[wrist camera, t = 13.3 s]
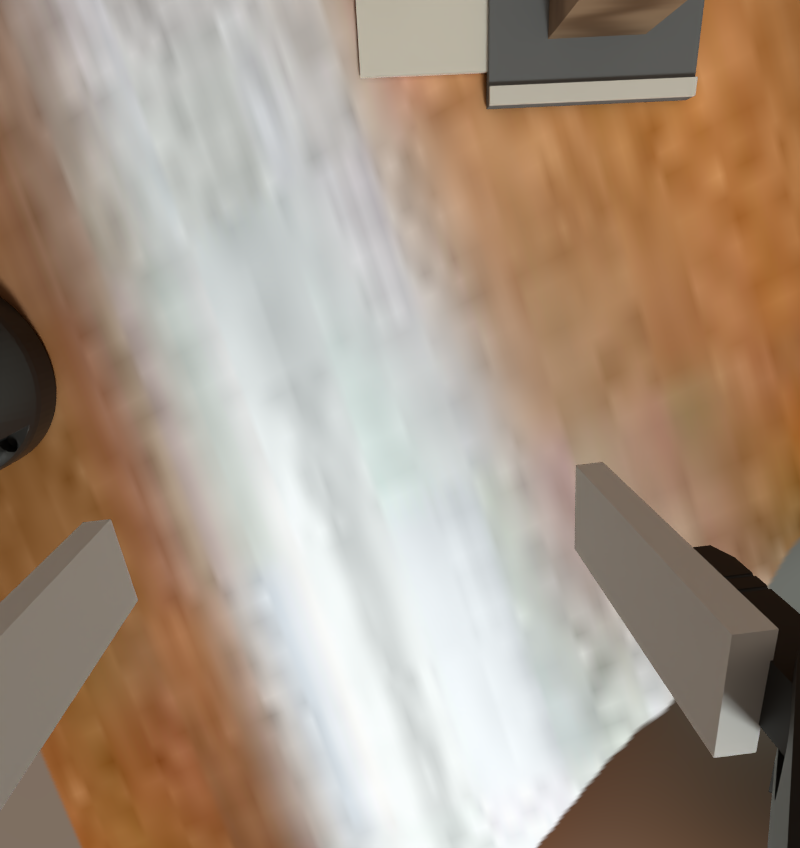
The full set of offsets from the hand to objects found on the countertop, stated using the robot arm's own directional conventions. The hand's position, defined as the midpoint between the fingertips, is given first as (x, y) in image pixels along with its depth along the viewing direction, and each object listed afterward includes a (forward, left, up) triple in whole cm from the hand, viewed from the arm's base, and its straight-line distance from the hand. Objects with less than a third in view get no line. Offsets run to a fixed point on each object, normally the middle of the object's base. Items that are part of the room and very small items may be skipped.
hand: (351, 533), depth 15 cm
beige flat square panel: (+5, +22, -25) cm, 34 cm away
